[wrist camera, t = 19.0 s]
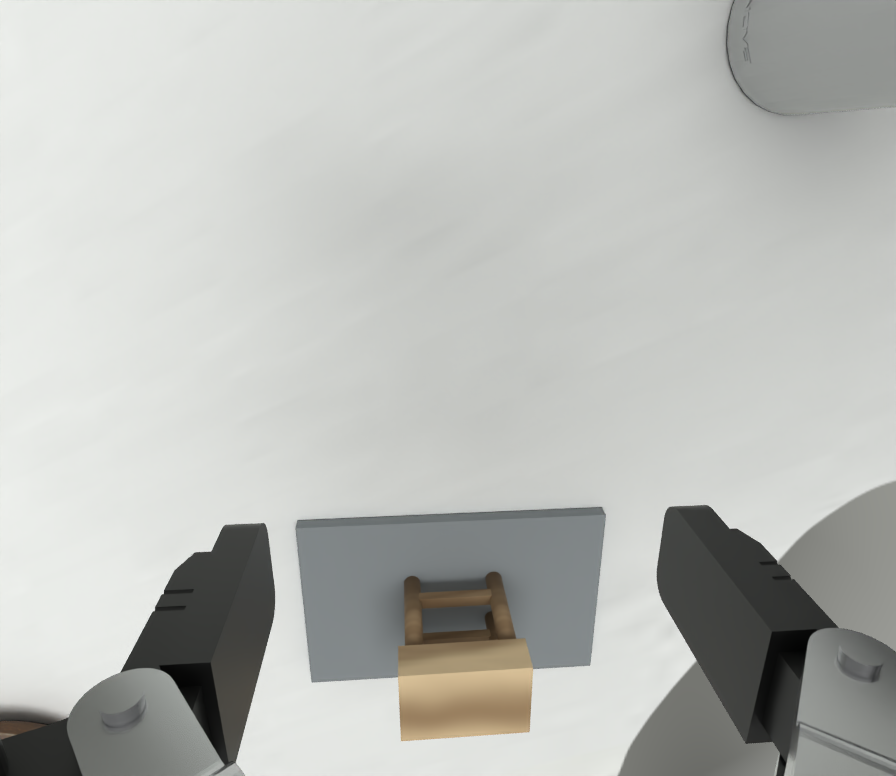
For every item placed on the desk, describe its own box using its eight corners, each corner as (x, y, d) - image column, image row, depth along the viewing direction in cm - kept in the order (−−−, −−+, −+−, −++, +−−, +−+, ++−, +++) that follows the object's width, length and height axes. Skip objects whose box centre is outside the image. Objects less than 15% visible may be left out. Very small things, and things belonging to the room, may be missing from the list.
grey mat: (601, 507, 46) (605, 514, 45) (586, 655, 51) (590, 665, 50) (297, 520, 44) (295, 528, 43) (313, 672, 49) (311, 682, 48)
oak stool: (398, 574, 45) (398, 676, 36) (507, 568, 46) (533, 667, 37) (400, 631, 47) (401, 741, 38) (505, 625, 48) (529, 732, 39)
